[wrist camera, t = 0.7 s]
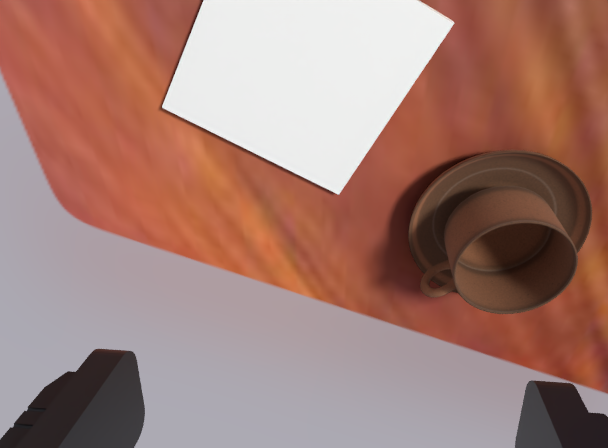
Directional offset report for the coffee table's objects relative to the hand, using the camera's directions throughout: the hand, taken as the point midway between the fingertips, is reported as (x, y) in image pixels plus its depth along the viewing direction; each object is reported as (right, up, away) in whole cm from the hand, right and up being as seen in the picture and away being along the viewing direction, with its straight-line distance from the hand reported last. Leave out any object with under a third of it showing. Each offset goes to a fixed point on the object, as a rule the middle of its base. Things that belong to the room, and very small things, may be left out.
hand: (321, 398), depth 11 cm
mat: (-1, +13, +21) cm, 25 cm away
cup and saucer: (+13, +4, +27) cm, 30 cm away
